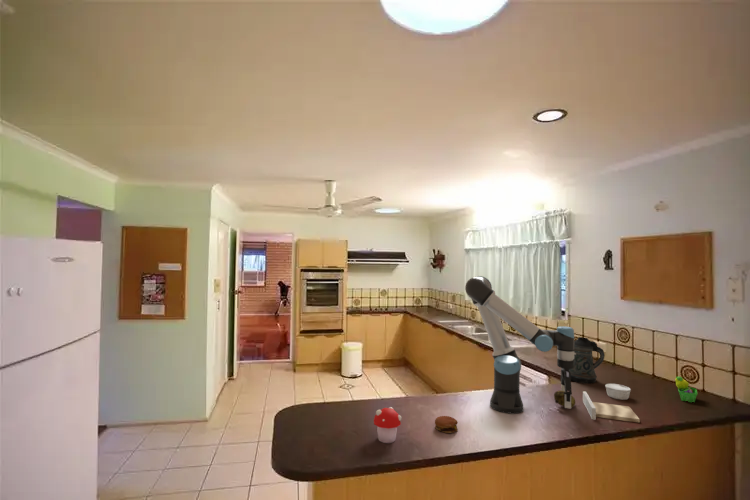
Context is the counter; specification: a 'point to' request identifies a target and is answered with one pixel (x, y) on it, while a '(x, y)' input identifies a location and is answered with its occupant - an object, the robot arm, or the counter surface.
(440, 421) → the burger
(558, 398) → the potato
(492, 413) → the counter surface
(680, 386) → the fruit basket
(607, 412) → the cutting board
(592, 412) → the divider wall
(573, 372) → the beer stein
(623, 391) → the ramekin
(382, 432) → the mushroom
